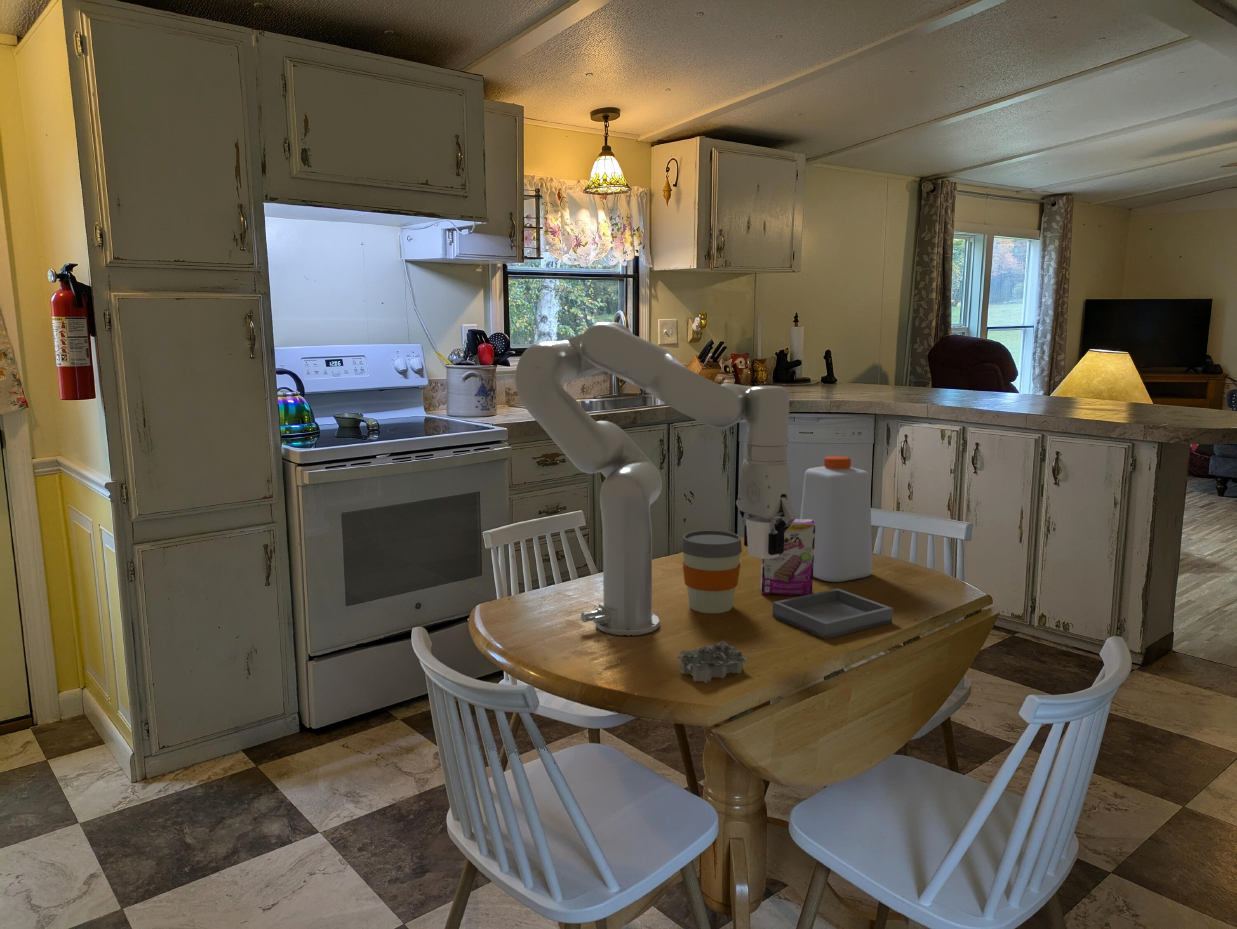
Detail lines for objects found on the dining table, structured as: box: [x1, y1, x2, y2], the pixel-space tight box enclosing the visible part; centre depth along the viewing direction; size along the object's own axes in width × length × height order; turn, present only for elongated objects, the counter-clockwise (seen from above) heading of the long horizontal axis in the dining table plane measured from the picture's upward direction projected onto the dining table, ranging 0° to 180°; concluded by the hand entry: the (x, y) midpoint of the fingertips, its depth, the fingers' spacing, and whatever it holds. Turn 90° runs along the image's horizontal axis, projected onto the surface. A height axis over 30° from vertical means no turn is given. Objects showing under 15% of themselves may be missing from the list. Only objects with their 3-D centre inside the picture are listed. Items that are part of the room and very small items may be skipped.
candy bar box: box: [760, 518, 815, 596], centre depth 186 cm, size 11×5×16 cm, turn 84°
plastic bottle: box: [799, 455, 873, 583], centre depth 200 cm, size 15×15×28 cm
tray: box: [771, 588, 894, 640], centre depth 169 cm, size 18×15×3 cm
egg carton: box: [676, 640, 748, 683], centre depth 144 cm, size 11×8×4 cm
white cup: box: [746, 515, 780, 559], centre depth 156 cm, size 7×7×7 cm
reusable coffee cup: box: [681, 529, 743, 614], centre depth 177 cm, size 13×13×15 cm
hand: (763, 548), depth 157 cm, fingers closed on white cup, 6 cm apart
